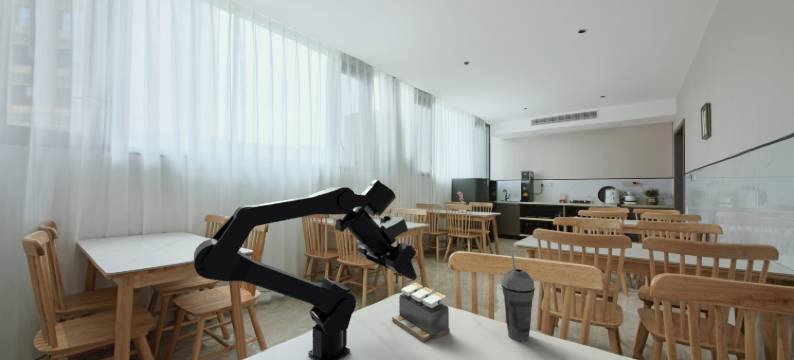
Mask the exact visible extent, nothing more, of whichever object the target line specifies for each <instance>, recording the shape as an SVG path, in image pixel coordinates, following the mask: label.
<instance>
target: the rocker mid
mask: <svg viewBox="0 0 794 360" xmlns="http://www.w3.org/2000/svg"><path fill="white" fill-rule="evenodd" d="M433 294H435V292H434V289H432V288H428V287H427V286H425V287H423V289H421V290H419V291H417V292H415V293H413V294H411V296H412V298H413V299H415V300H417V301H419V302H421V301H422V300H423V299H425V298H427V297H429V296H431V295H433Z"/></svg>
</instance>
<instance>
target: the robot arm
mask: <svg viewBox="0 0 794 360" xmlns="http://www.w3.org/2000/svg"><path fill="white" fill-rule="evenodd" d="M396 197H397V196H396V194H395V192H394V191H393V189H391V188H390V187H388V186H387V185H385V184H384V183H382V182H381V180H379V179H372V181H371V182H370V184H369V185H368V186H367V188H365V190H364V191H363V192H362V193H355V191H354V190H353V189H351V188H350V187H347V186H341V187H340V186H331V187H328V188H326V189H323V190H320V191H317V192H315V193H313V194H311V195H307V196H302V197H296V198H291V199H284V200H277V201H272V202H266V203H259V204H254V205H241V206H239V207H237V208H236V209H235V210H234V212H233V214H232V215H231V216H230V218H228V219H227V221H226V222H225V223H224V224H223V225H222V226H220V228H219V229H218V230H217V231H216V232H215V233H214V235H213V236H212V237H211V238H210V239H207V240H204V241H202V242H201V243H200V244H198V246H197V247H196V248H195V251H194V252H193V265H194V266H193V267H194V269H195V272H196V273H197V275H199V276H200V277H202V278H203V279H206V280H214V281H219V282H227V283H230V282H232V283H233V282H234V283H235V282H236V283H238V282H243V283H247V284H250V285H253V286H257V287H259V288H262V289H265V290H268V291H271V292H274V293H277V294H281V295H284V296H287V297H289V298H293V299H296V300H299V301H301V302H304V303H308V304H311V305H312V306H313V307H311V309H310V310H309V315H310V318H311V320H312V321H314V323H316V324H315V326H312V349H310V350H308V355H309V357H311V358H313V359H315V360H340V359H341V358H343V357H345V356H346V355H348V354H350V353H351V349H350V348H349V347H347V344H348V341H347V340H348V336H347V335H348V328H349V325H350V322H351V319H352V315H353V314H354V312H355V309H356V306H357V301H356V297H355V296H354V294H352V293H351V288H349V287H347V286H345V285H344V284H343V283H341V282H339V281H338V280H337V281H333V280H331V279H329V278H328V277H326V276H324V277H323V278H322V281H321V282H314V281H311V280H309V279H306V278H303V277H301V276H298V275H295V274H292V273H290V272H288V271H285V270H282V269H279V268H277V267H275V266H272V265H269V264H265V263H263V262H261V261H258V260H256V259H253V258H251V257H250V256H248V255H246V254H245V253H244V252H242V251H241V248H242V246H243V245H244V243H245V241H246V240H247V239H248V237H249V235H250V233H251V232H252V231H253V229H254V228H255V227H257V226H263V225H268V224H274V223H278V222H284V221H287V220H288V221H289V220H293V219H294V220H295V219H298V218H303V217H309V216H313V215H326V216H327V215H329V216H331V215H332V216H334V215H343V216H342V217H341V218H338V217H337V218H335V219H334V220H335V225H334V230H335V231H337V232H341V233H342V232H344V231H345V230H346V229H347V231H349V233H350V234H351V235H352V236H353V237H354V238H355V239H356V243H357V244H358V245H359V246H358V252H357V253H358V254H359V255H361V257H363V258H365V259H366V260H368V261H371V262H373V263H375V264H377V265H380V266H382V267H384V268H386V269H389V270H390V271H392V272H394V273H395V274H398V275H401V276H403V277H405V278H407V279H411V280H412V281H415V280H417V277H418V276H417V273H416V270H415V268H414V266H413V265H414V264H413V261H412V260H413V258H414V257H415V256H416V255H417V250H416V249H415V247H413V245H412V244H408V243H404V242H400V243H399V242H398V243H397V244H396V246H393V244H394V243H396V242H397V239H396V238H397V237H398V236H400V235H402V234H404V233H406V232H408V231H409V229H408V225H407V223H406V219H405V217H400V216H392V217H390V216H389V215H386V214H385V215H383V213H384V212H385V211H386V209H387V208H388V207H389V206H390V205H391V204H392V203H393V202H394V201H395V199H396ZM381 215H383V216H381ZM375 216H380V220H379V221H380V222H379V224H378V223H377V222H376V221H375V220H374V219H373V217H375Z"/></svg>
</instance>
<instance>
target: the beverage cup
mask: <svg viewBox="0 0 794 360" xmlns="http://www.w3.org/2000/svg"><path fill="white" fill-rule="evenodd" d="M510 252H511V259H512V269H511V270H509V271H507V272H505V274H504V276H503V278H502V282H501V288H502V294H503V298H504V299H503V300H504V309H505V319H506V328H507V334H508V337H509V338H510V339H511V340H514V341H516V342H527V341H529V339H530V337H529V336H530V332H531V320H532V310H533V299H534V295H535V291H536V290H535V285H534V281H533V278H532V277H531V275H530V274H529V273H528V272H526V271H525V270H522V269H519V268H516V261H515V254H514V250H510Z"/></svg>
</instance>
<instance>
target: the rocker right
mask: <svg viewBox="0 0 794 360" xmlns="http://www.w3.org/2000/svg"><path fill="white" fill-rule="evenodd" d="M422 301H423V304H424V305H426V306H428V307H430V308H433V307H435V306H437V305H439V304H440V303H442V304H443V302H446V301H447V295H444V294H442V293H440V292H438V291H437V292H434V294H433V295H431V296H429V297H427V298H425V299H423V300H422Z"/></svg>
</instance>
